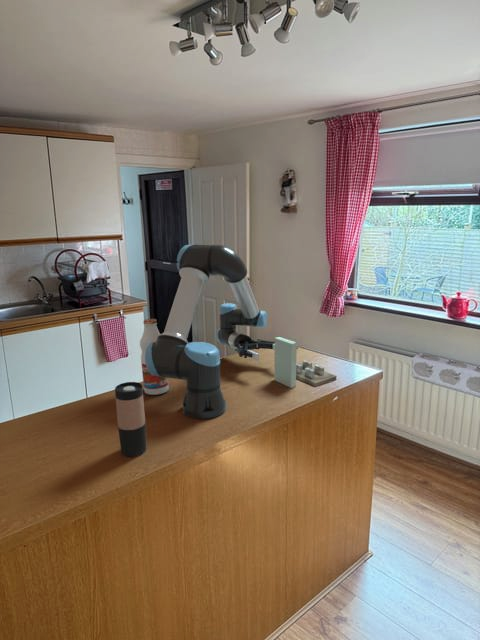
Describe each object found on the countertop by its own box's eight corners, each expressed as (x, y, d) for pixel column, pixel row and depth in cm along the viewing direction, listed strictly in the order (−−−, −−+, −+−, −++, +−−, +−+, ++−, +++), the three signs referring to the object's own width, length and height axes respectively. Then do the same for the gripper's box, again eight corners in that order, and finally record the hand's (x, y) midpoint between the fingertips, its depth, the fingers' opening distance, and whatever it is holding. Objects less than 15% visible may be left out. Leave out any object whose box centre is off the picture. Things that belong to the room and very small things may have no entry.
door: (272, 379, 178) (273, 337, 174) (279, 377, 181) (280, 335, 176) (291, 387, 170) (291, 343, 165) (298, 385, 172) (298, 342, 167)
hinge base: (281, 372, 186) (281, 362, 185) (301, 366, 193) (302, 356, 192) (315, 386, 171) (315, 375, 169) (336, 379, 177) (336, 369, 176)
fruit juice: (172, 386, 172) (166, 317, 166) (163, 395, 163) (156, 322, 157) (150, 386, 174) (143, 317, 168) (140, 395, 165) (132, 322, 159)
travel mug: (115, 450, 127) (109, 387, 122) (138, 441, 132) (133, 379, 127) (129, 461, 122) (123, 394, 117) (152, 450, 127) (147, 386, 122)
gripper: (262, 344, 204) (293, 356, 187) (217, 355, 190) (247, 369, 173) (262, 329, 202) (293, 339, 185) (217, 339, 188) (246, 351, 171)
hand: (271, 353), depth 179 cm, fingers open, 13 cm apart
